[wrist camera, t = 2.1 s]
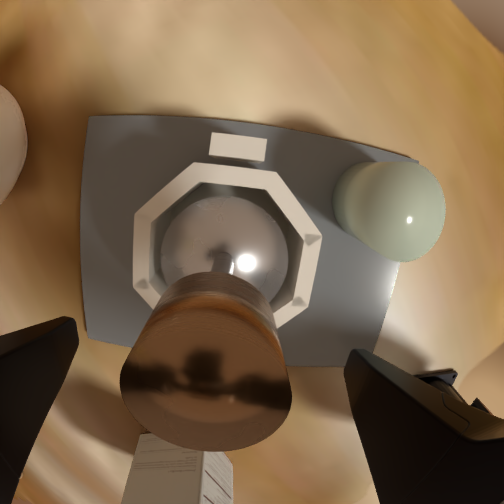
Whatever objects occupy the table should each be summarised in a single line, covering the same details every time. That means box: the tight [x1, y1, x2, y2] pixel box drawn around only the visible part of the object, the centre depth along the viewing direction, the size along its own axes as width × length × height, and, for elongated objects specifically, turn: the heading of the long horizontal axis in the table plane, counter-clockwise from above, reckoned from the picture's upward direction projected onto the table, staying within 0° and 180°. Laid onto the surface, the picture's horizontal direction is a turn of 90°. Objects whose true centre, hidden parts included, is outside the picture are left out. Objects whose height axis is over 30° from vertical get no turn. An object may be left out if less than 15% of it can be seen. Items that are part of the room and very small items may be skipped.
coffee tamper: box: [120, 195, 292, 452], centre depth 9 cm, size 6×6×9 cm
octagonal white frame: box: [133, 132, 322, 328], centre depth 15 cm, size 8×10×5 cm
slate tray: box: [80, 115, 419, 367], centre depth 19 cm, size 22×16×1 cm
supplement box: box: [121, 433, 233, 504], centre depth 18 cm, size 7×7×13 cm
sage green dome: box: [332, 162, 446, 262], centre depth 15 cm, size 5×5×5 cm
